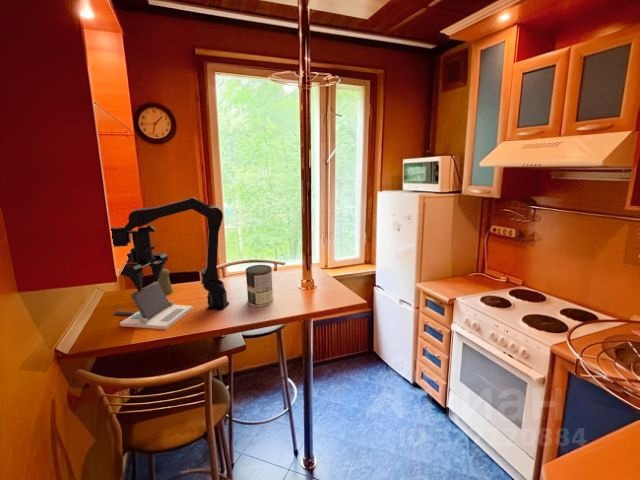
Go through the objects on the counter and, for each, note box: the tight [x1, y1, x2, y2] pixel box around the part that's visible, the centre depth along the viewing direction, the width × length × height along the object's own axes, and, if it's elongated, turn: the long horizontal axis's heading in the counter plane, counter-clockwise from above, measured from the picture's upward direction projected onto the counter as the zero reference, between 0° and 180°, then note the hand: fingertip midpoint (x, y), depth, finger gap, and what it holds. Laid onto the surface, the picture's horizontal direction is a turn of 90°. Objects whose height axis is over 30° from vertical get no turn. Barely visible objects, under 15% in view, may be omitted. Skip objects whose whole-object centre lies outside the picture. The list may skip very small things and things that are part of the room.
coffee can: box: [245, 264, 274, 308], centre depth 139 cm, size 10×10×14 cm
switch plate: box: [114, 300, 194, 330], centre depth 128 cm, size 27×17×3 cm, turn 80°
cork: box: [158, 268, 174, 297], centre depth 150 cm, size 6×6×11 cm
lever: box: [130, 281, 170, 320], centre depth 127 cm, size 2×14×11 cm, turn 168°
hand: (148, 286), depth 126 cm, fingers open, 9 cm apart
